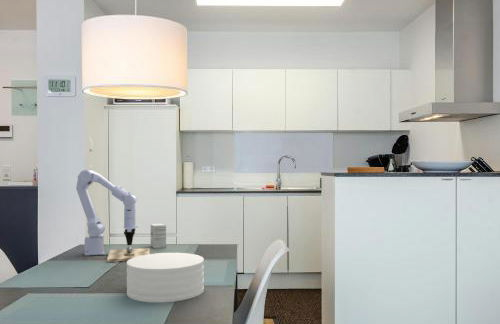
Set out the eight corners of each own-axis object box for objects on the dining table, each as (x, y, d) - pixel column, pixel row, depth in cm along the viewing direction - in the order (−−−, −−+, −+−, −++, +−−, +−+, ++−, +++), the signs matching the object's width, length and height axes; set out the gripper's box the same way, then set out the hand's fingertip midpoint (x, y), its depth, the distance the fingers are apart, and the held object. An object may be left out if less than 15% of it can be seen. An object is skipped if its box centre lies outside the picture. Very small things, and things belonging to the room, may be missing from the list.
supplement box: (150, 246, 257) (150, 224, 257) (163, 245, 260) (163, 223, 260) (153, 248, 250) (153, 225, 250) (166, 247, 253) (166, 224, 253)
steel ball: (125, 247, 231) (127, 252, 232) (125, 249, 228) (127, 254, 229) (130, 245, 232) (133, 250, 232) (130, 247, 229) (133, 252, 229)
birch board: (106, 262, 215) (106, 259, 215) (110, 252, 238) (110, 249, 238) (149, 260, 220) (149, 257, 220) (149, 250, 243) (149, 248, 243)
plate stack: (170, 277, 187) (169, 249, 187) (219, 289, 169) (219, 258, 169) (111, 292, 165) (110, 261, 165) (160, 308, 147) (160, 273, 148)
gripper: (137, 219, 231) (137, 245, 231) (137, 216, 245) (137, 241, 245) (123, 219, 229) (123, 246, 229) (124, 216, 243) (124, 241, 243)
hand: (129, 243), depth 237 cm, fingers open, 7 cm apart
